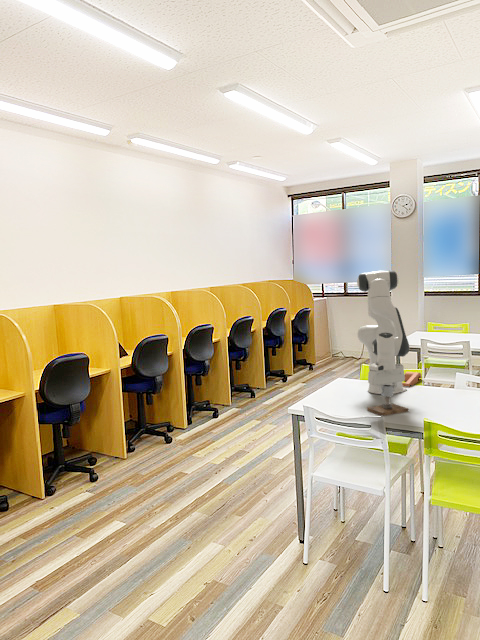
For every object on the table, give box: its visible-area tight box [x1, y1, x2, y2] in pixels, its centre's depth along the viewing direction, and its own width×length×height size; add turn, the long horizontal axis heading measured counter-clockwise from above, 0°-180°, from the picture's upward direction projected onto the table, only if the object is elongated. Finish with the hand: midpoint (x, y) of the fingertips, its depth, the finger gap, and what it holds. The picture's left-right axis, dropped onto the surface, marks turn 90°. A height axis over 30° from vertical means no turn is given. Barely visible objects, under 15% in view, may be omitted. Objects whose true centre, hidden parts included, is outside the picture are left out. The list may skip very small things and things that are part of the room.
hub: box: [380, 384, 394, 398], centre depth 246 cm, size 6×6×5 cm
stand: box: [366, 396, 409, 417], centre depth 247 cm, size 16×12×8 cm
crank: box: [402, 371, 422, 387], centre depth 299 cm, size 20×8×8 cm, turn 139°
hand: (387, 392), depth 247 cm, fingers closed on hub, 6 cm apart
